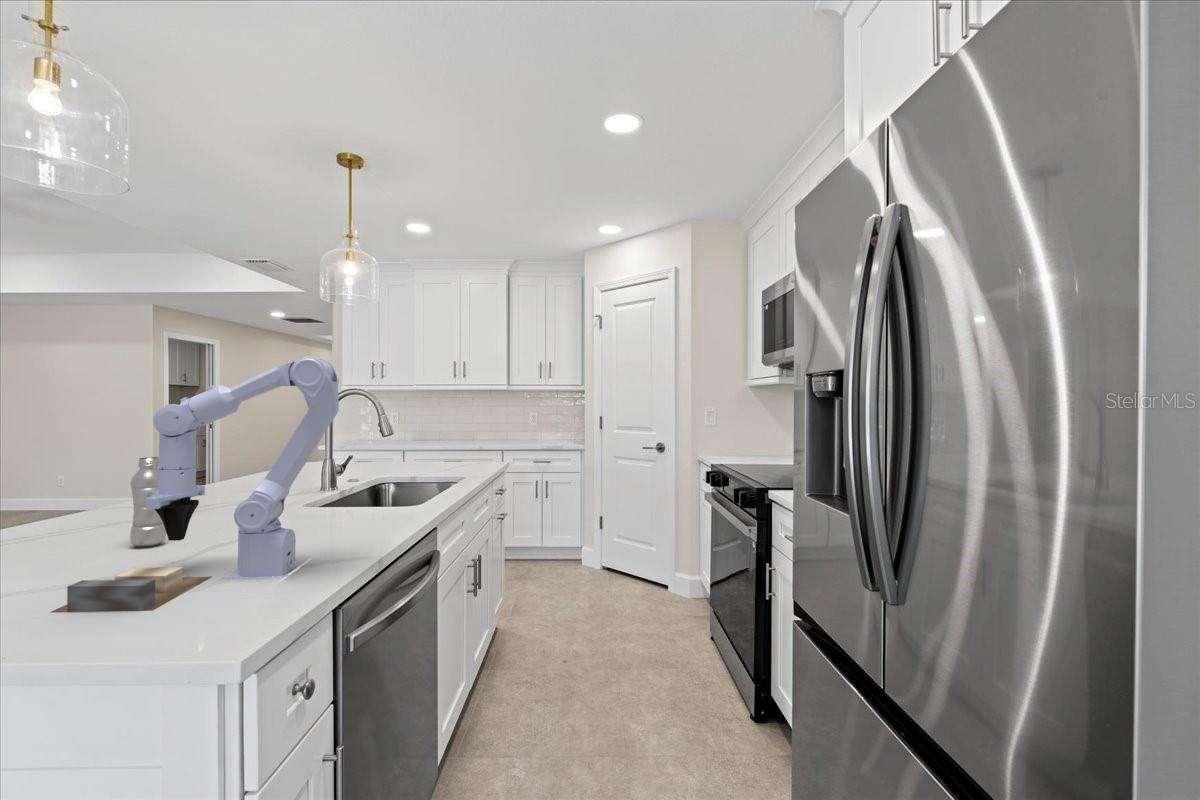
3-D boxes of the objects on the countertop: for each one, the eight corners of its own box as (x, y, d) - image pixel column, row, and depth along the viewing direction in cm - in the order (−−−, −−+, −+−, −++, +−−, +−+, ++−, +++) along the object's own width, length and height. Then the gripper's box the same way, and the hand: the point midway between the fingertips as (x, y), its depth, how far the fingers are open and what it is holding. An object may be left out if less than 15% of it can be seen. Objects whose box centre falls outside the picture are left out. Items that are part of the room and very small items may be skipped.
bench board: (212, 579, 109) (212, 555, 109) (152, 614, 92) (152, 585, 92) (126, 580, 107) (127, 556, 107) (49, 616, 90) (50, 586, 90)
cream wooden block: (182, 583, 104) (182, 567, 104) (164, 593, 99) (165, 576, 99) (135, 584, 104) (135, 567, 104) (114, 594, 99) (114, 576, 99)
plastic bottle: (173, 542, 134) (174, 456, 134) (151, 549, 127) (152, 459, 127) (144, 541, 134) (146, 456, 134) (121, 549, 127) (122, 459, 127)
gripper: (178, 463, 116) (177, 530, 116) (127, 473, 101) (126, 550, 101) (216, 463, 116) (215, 530, 116) (170, 473, 102) (169, 549, 102)
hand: (176, 539), depth 109 cm, fingers closed
